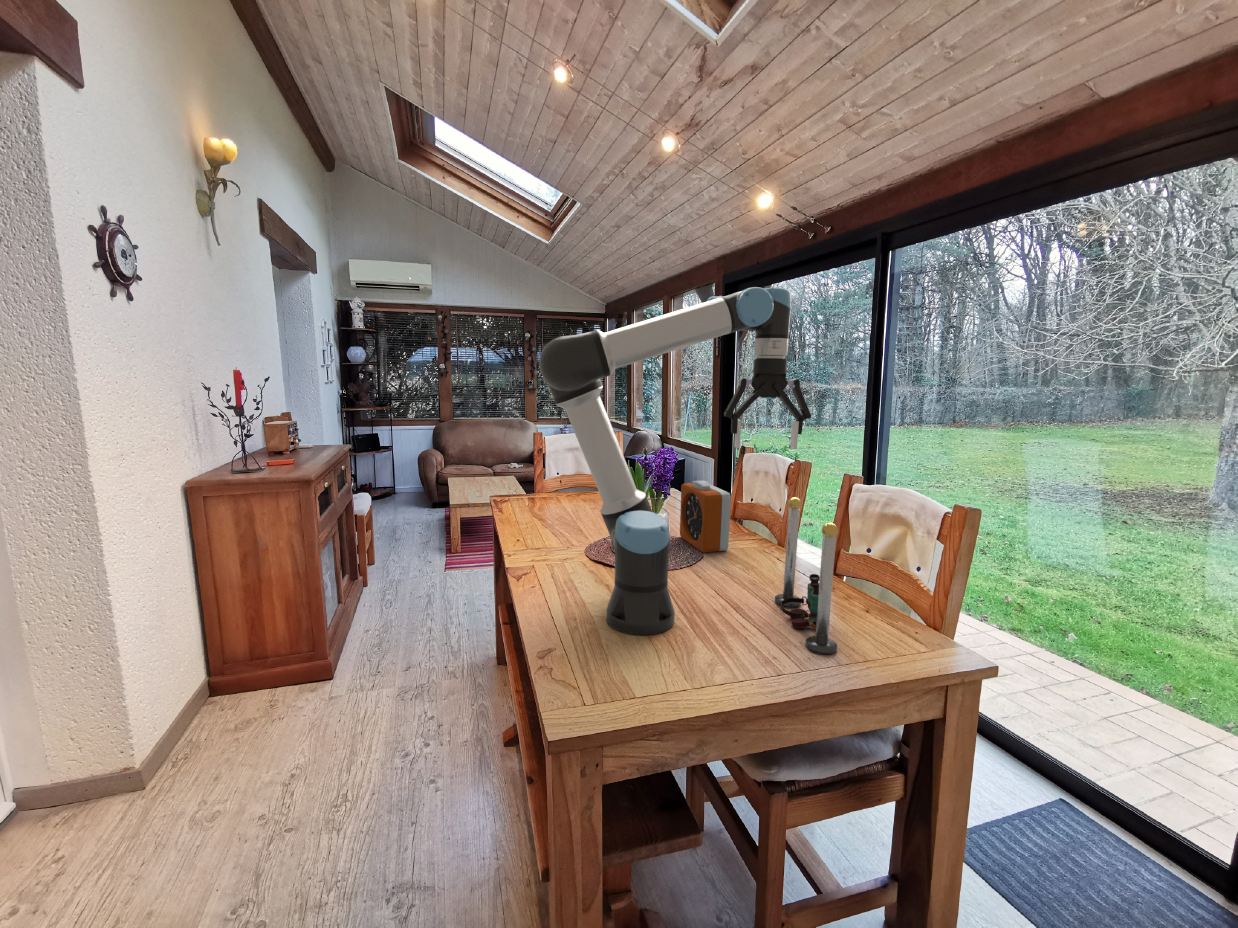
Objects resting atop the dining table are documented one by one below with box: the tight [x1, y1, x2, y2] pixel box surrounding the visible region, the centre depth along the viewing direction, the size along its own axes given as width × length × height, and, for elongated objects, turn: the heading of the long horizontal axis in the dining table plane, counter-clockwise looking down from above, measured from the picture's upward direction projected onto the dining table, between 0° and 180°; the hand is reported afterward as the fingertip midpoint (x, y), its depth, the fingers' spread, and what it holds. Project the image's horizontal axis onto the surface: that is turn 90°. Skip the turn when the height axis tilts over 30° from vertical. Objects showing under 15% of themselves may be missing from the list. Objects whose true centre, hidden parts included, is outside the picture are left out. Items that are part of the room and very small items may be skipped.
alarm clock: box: [679, 480, 732, 553], centre depth 178 cm, size 18×9×21 cm, turn 17°
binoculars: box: [780, 573, 820, 630], centre depth 124 cm, size 9×11×10 cm
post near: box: [804, 522, 839, 656], centre depth 112 cm, size 6×6×26 cm
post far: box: [774, 496, 802, 609], centre depth 133 cm, size 6×6×26 cm
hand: (765, 447), depth 135 cm, fingers open, 13 cm apart
